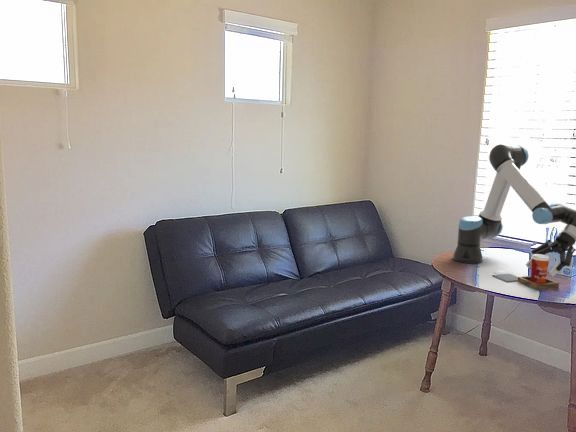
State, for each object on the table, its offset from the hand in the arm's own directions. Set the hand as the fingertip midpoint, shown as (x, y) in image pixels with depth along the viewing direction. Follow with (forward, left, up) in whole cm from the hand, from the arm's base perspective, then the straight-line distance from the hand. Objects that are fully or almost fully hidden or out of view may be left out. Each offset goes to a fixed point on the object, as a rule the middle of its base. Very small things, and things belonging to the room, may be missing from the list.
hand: (538, 270), depth 224 cm
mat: (-13, -5, -7) cm, 15 cm away
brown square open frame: (-1, +1, -7) cm, 7 cm away
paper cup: (-1, +1, -7) cm, 7 cm away
